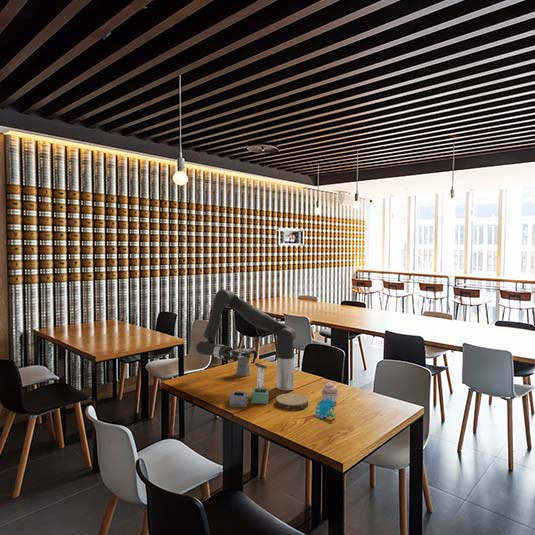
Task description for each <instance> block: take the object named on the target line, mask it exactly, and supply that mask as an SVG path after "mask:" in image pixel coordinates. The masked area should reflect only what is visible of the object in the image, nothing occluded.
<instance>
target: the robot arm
mask: <svg viewBox="0 0 535 535" xmlns="http://www.w3.org/2000/svg"><path fill="white" fill-rule="evenodd" d="M226 307H228V308H231V309H233V310H235V312H236V313H238V314H239V315H240V317H242V318H243V319H244V321H246V322H248V323H249V324H251V325H253V326H254V327H256V328H259V329H261V330H265V331H267V332H270V333H272V334H273V335H275V336H276V354H277V357H276V358H277V361H276V364H277V366H276V389H277V390H279V391H294V381H295V380H294V378H295V376H294V375H295V374H294V373H295V372H294V371H295V352H294V342H295V340H296V339H297V334H296V331H295V330H294V329H293V328H291V327H290V326H288V325H286V324H284V323H281V322H279V321H277V320H276V319H274V318H273V317H272V316H270V315H269V314H267V313H266V312H264V311H263V310H261V309H259V308H257V306H254V305H253V304H250V303H249V302H248V301H245V300H243V299H242V298H240V296H237V295H236V293H234V292H233V291H231V290H229V289H219V290H218V291H217V292H216V293H215V296H214V300H213V304H212V309H211V313H210V316H209V320H208V322H207V325H206V328H205V329H204V333H203V337H204V338H205V339H207V341H203V340H202V341H199V342H197V343H196V345H195V350H196V352H197V353H198V354H200V355H206V356H211V357H215V358H217V359H221V360H223V361H236V362H238V358H241V357H246V358H250V359H251V353H250V354H249V353H247V351H243V350H239V351H236V350H235V349H234V348H233V347H232V346H228V345H225V344H218V343H216V337H217V335H218V331H219V329H220V326H221V319H222V315H223V312H224V310H225V308H226ZM238 354H239V355H240V356H238Z"/></svg>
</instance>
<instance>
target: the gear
mask: <svg viewBox="0 0 535 535" xmlns="http://www.w3.org/2000/svg"><path fill="white" fill-rule="evenodd" d="M332 402H333V401H332V400H331V399H330V400H329V399H327V398H326V401H325V402H324V399H323V398H322V399H321V402H318V403H317V405H318V406H315V408H314V410H315V411H314V413H315V415H316V417H317V418H320V419H322V420H323V419H324V418H325V419H327V418H329V416H330V417H331V418H333V419H334V420H335V419H336V418H337V417H336V416H335V415H336V414H335V412H334V410H335V409H336V408H335V407H334V406H335V403H334V402H333V403H332ZM329 403H331V404H329ZM331 410H332V411H331Z"/></svg>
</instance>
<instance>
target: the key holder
mask: <svg viewBox="0 0 535 535" xmlns="http://www.w3.org/2000/svg"><path fill="white" fill-rule="evenodd" d="M269 394H270V388H268V387H266V388H265V387H264V389H263V393H260V392H257V387H253V388H252V391H251V404H262V405H263V404H267V405H268V403H269V400H270V399H269V398H270V396H269Z"/></svg>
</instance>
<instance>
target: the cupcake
mask: <svg viewBox="0 0 535 535" xmlns="http://www.w3.org/2000/svg"><path fill="white" fill-rule="evenodd" d="M320 393H321V395H322V400H323V399H324V402H325V401H326V398H327V399H329V400H330V399H331V400H332V401H333V402H334V404H335V403H337V401H338V397H339V395H340V392H339V391H338V388H337V386H336V385H335V384H333V382H331V381H330V382H328V383H326V384H324V387H323V388H322V390H320ZM333 402H332V403H333ZM329 404H331V403H329Z"/></svg>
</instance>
